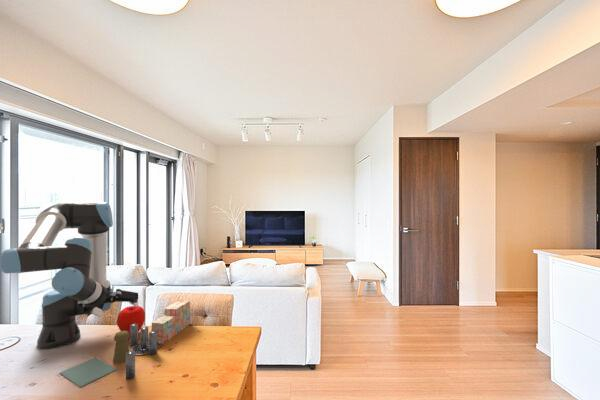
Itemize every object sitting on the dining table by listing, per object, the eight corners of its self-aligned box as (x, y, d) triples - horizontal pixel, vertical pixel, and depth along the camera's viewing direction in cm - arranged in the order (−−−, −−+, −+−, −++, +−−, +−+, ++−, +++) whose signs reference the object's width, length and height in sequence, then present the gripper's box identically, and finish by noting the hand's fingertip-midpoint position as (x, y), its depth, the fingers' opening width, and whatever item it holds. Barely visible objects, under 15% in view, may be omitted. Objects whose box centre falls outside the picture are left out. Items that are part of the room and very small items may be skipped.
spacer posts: (93, 361, 116) (93, 338, 116) (136, 342, 132) (136, 322, 132) (128, 380, 104) (128, 355, 104) (172, 357, 119) (172, 335, 119)
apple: (124, 343, 131) (124, 313, 131) (111, 336, 137) (111, 308, 137) (150, 332, 141) (150, 305, 141) (136, 327, 147) (136, 300, 147)
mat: (59, 373, 108) (59, 372, 108) (95, 358, 119) (95, 357, 119) (80, 387, 100) (80, 386, 100) (116, 369, 110) (116, 368, 110)
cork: (122, 364, 114) (122, 336, 114) (109, 362, 115) (109, 334, 115) (133, 356, 120) (133, 329, 120) (121, 354, 121) (121, 328, 121)
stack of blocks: (163, 344, 130) (163, 316, 130) (151, 343, 131) (151, 315, 131) (190, 324, 151) (190, 300, 151) (179, 323, 152) (179, 299, 152)
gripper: (48, 314, 96) (84, 327, 114) (129, 293, 101) (152, 308, 119) (51, 292, 100) (86, 308, 118) (130, 273, 105) (151, 290, 123)
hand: (119, 308), depth 118 cm, fingers open, 13 cm apart
